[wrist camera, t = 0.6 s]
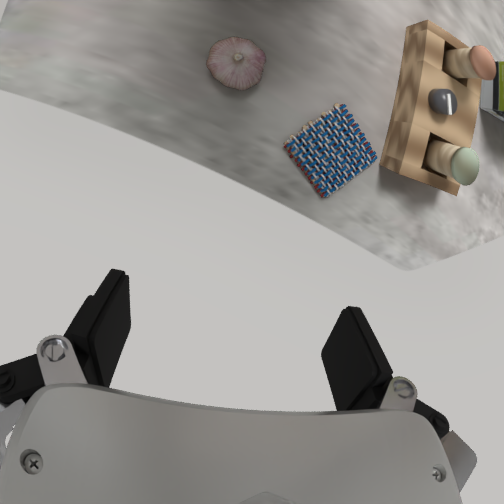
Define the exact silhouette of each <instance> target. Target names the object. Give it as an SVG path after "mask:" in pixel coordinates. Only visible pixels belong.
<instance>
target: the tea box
mask: <svg viewBox="0 0 504 504" xmlns="http://www.w3.org/2000/svg"><path fill="white" fill-rule="evenodd" d="M495 65H496V75H495V77H494V79H493V80H483V79H482V84H481V95H480V108H481V109H483V110H485V111H486V112H488V113H490V114H492V115H493V116H495V117H497V118H498V119H500V120H502V121H503V122H504V61H497V62H495Z"/></svg>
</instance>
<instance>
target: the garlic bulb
mask: <svg viewBox="0 0 504 504" xmlns="http://www.w3.org/2000/svg"><path fill="white" fill-rule="evenodd" d="M265 63H266V56H265V54H264V52H263V51H262V50H261V49H259V48H258V47H257V46H256V45H255V44H254V43H253V42H252V41H250V40H248V39H241V38H238V37H230V38H227V39H224V40H220V41H218V42H216V43H215V44H214V45H213V46H212V48H211V49H210V52H209V57H208V59H207V63H206V65H207V68H208V69H209V70H210V71H211V73H212V75H213V77H214V78H215V79H217V80H219V81H221V82H222V84H223V85H225V86H227V87H232V88H235V89H238V90H246V89H248V88H250V87H251V86H253V85H256V84H258V83H259V82H260V80H261V75H262V72H263V67H264V64H265Z"/></svg>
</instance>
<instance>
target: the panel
mask: <svg viewBox="0 0 504 504" xmlns="http://www.w3.org/2000/svg"><path fill="white" fill-rule="evenodd" d="M463 48H469V47H468V46H466V45H465V44H464V43H462V42H461V41H460V40H458V39H457V38H455V37H454V36H452V35H451V34H450V33H448V32H447V31H445V30H444V29H442V28H441V27H439V26H437V25H436V24H434V23H433V22H431V21H429V20H425V21H422V22H419V23H416V24H413V25H411V26H408V27H407V28H406V36H405V44H404V51H403V57H402V64H401V70H400V76H399V81H398V87H397V92H396V97H395V102H394V106H393V111H392V116H391V120H390V124H389V129H388V133H387V137H386V141H385V145H384V149H383V153H382V157H381V160H380V164H379V165H381V166H383V167H385V168H387V169H390V170H392V171H394V172H396V173H398V174H400V175H403V176H406V177H409V178H412V179H414V180H417V181H420V182H423V183H425V184H428V185H430V186H433V187H435V188H438V189H441V190H443V191H445V192H448V193H450V194H453V195H455V196H457V193H458V190H459V187H460V183H458V182H457V181H456V180H455V179H453V178H451V177H449V176H446V175H444V174H442V173H440V172H437V171H435V170H433V169H430V168H428V167H427V166H426V165H425V164H424V162H423V159H424V155H425V151H426V147H427V143H428V141H429V140H431V139H434V140H438V141H442V142H445V143H449V144H452V145H456V146H459V147H468V148H470V147H471V142H472V138H473V133H474V128H475V123H476V118H477V112H478V106H479V99H480V92H481V84H482V79H481V78H452V77H450V76H449V75H447V74H446V73H445V72H444V71H443V69H442V63H443V54H444V51H446V50H454V49H463ZM432 89H449V90H451V91H452V92H453V93H454V94H455V96H456V99H457V110H456V112H455V113H454V114H453V115H445V114H438V113H435V112H434V111H433V110H432V109H431V108H430V106H429V103H428V95H429V92H430V91H431V90H432Z"/></svg>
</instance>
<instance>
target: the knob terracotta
mask: <svg viewBox="0 0 504 504" xmlns="http://www.w3.org/2000/svg"><path fill="white" fill-rule="evenodd" d="M442 69H443V71H444V72H445V73H446V74H447V75H449V76H450V77H452V78H481V79H483V80H493V79H494V77H495V75H496V65H495V61H494V59H493V57H492V55H491V53H490V52H489V51H488V49H486V48H485V47H484V46H481V45H479V46H473V47H472V48H463V49H454V50H446V51H444V54H443V63H442Z"/></svg>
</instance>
